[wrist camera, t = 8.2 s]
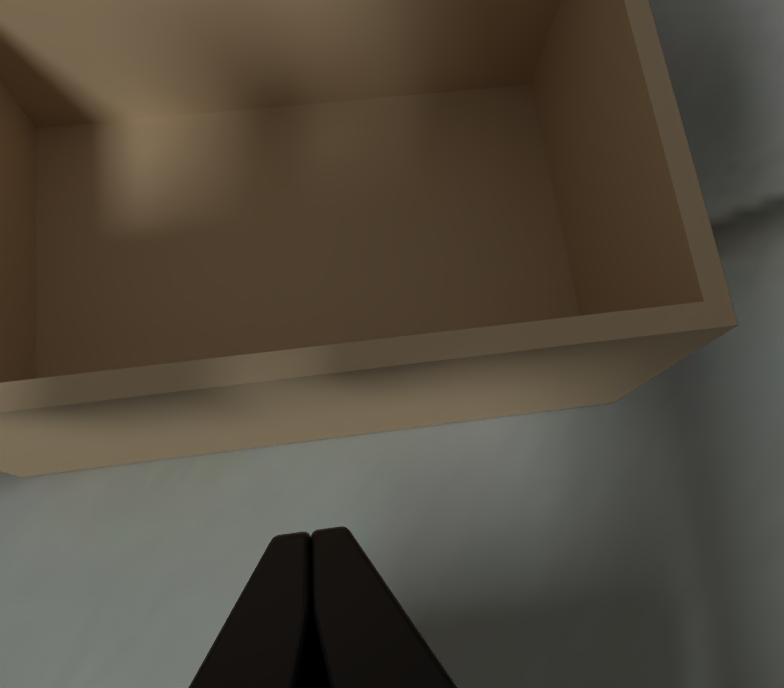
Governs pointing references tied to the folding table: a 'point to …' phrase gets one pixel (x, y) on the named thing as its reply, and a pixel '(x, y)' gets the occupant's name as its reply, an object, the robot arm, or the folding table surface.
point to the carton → (334, 220)
